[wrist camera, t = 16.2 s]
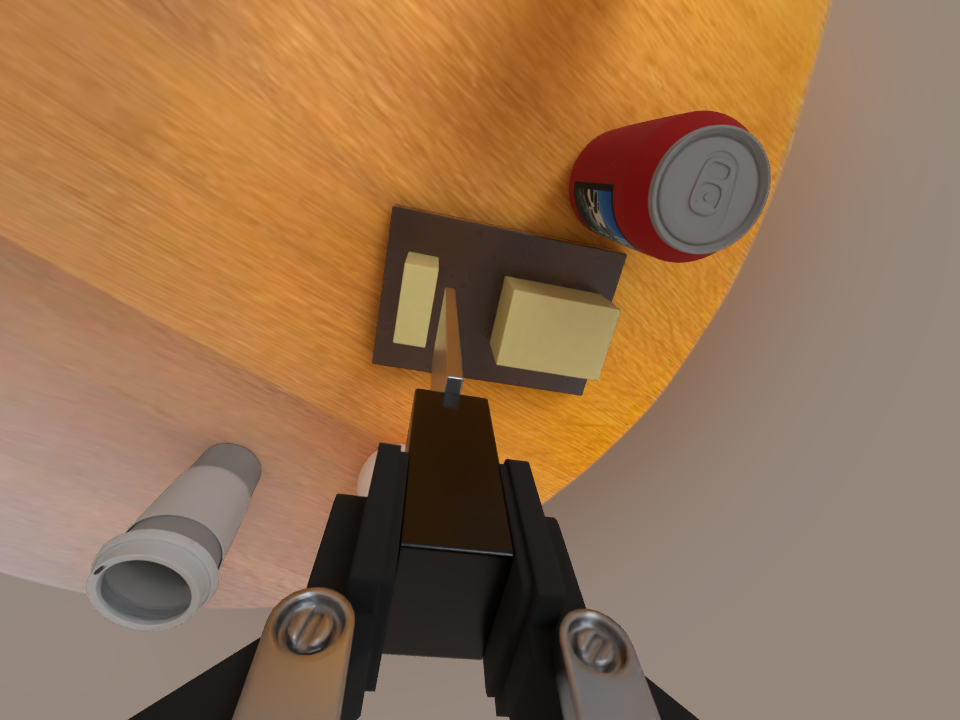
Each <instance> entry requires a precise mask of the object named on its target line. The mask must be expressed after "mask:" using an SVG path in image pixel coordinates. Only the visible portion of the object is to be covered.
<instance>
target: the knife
mask: <svg viewBox="0 0 960 720" xmlns="http://www.w3.org/2000/svg"><path fill="white" fill-rule="evenodd" d="M462 384H463V370H462V359H461V348H460V337H459V326H458V315H457V304H456V293H455V289H454V288H449V287H446V288H445V292H444V297H443V303H442V309H441V314H440V320H439V325H438V331H437V336H436V342H435V347H434V353H433V358H432V375H431V390H425V389H416V390H415V394H414V400H413V405H412V411H411V417H410V423H409V429H408V435H407V441H406V447H405V452H409V460H408V469H407V478H406V487H405V496H404V506H403V515H402V524H401V533H400V542H399V551H398V560H397V568H396V576H395V583H394V590H393V595H392V601H391V606H390V612H389V617H388V623H387V628H386V634H385V639H384V645H383V650H382V654H391V655H407V656H423V657H440V658H457V659H472V660H482V659H483V656H484V653H485V649H486V646H487V643H488V640H489V637H490V634H491V630H492V627H493V624H494V621H495V618H496V615H497V611H498V608H499V605H500V602H501V599H502V596H503V592H504V589H505V586H506V583H507V580H508V577H509V573H510V570H511V567H512V564H513V561H514V557H515V553H514V547H513V541H512V536H511V530H510V524H509V519H508V513H507V508H506V502H505V496H504V491H503V485H502V479H501V474H500V468H499V459H498V453H497V448H496V442H495V437H494V431H493V426H492V420H491V415H490V409H489V404H488V399H486V398H479V397H473V396H466V395H460V393H461V389H462Z"/></svg>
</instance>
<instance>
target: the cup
mask: <svg viewBox="0 0 960 720" xmlns="http://www.w3.org/2000/svg"><path fill="white" fill-rule="evenodd" d="M260 475H261V466H260V463H259V461H258V459H257V458H256V456H255V455H254V454H253V453H252V452H251V451H249V450H248V449H246V448H244V447H242V446H239V445H236V444H228V443H225V444H218V445H215V446H212V447H210V448H209V449H208V450H206V451H205V452H204V453H203V454H202V456H201V457H200V458H199V459H198V460H197V461H196V462H195V463H194V464H193V465H192V466H191V467H190V468H189V469H188V470H187V471H185V472H184V473H182V474H181V475H180V476H179V477H178V478H177V479H176V480H175V481H174V482H173V483H172V484H171V485H170V486H169V487H168V488H167V489H166V490H165V491H164V492H163V493H162V494H161V495H160V496H159V497H158V498H157V499H156V500H155V501H154V502H153V504H152V505H151V506H150V507H149V508H148V509H147V510H146V511H145V512H144V513H143V514H142V515H141V516H140V517H139V518H138V519H137V520H136V521H135V522H134V523H133V524H132V525H131V526H130V527H129V528H128V530H127V531H126V532H125V533H123V534H121V535H119V536H117V537H115V538H113V539H111V540H110V541H108V542H107V543H106V544H105V545H104V546H103V547H102V548H101V549H100V550H99V552H98V553H97V555H96V557H95V560H94V562H93V564H92V568H91V574H90V576H89V578H88V581H87V587H86V590H87V596H88V598H89V600H90V603H91V605H92V606H93V607H94V608H95V610H96V611H97V612H98V613H99V614H101V615H102V616H103V617H104V618H106V619H107V620H109V621H111V622H112V623H115V624H117V625H119V626H122V627H125V628H129V629H133V630H139V631H160V630H166V629H170V628H173V627H176V626H178V625H180V624H182V623H183V622H185V621H187V620H188V619H189V618H190V617H191V616H192V615H193V614H194V613H195V612H196V611H197V610H199V609H200V608H202V607H203V606H204V605H205V604H206V603H207V602H208V601H209V600H210V598H211V597H212V596H213V594H214V593H215V591H216V589H217V586H218V582H219V572H218V570H219V568H220V567H221V565H222V563H223V560H224V558H225V556H226V554H227V552H228V550H229V547H230V545H231V543H232V541H233V539H234V537H235V534H236V532H237V530H238V528H239V526H240V524H241V521H242V519H243V517H244V515H245V513H246V511H247V508H248V505H249V502H250V497H251V495H252V493H253V491H254V489H255V487H256V485H257V483H258V480H259V478H260Z"/></svg>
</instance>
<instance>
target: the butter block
mask: <svg viewBox="0 0 960 720" xmlns="http://www.w3.org/2000/svg"><path fill="white" fill-rule="evenodd" d="M620 312H621V310H620V309H619V308H618V307H616V306H615V305H614V304H613V303H611V302H610V301H609V300H607V299H606V298H605V297H603V296H602V295H601V294H598V293H592V292H587V291H582V290H577V289H571V288H566V287H561V286H556V285H550V284H545V283H540V282H535V281H529V280H524V279H519V278H514V277H508V276H505V278H504V282H503V287H502V291H501V295H500V300H499V304H498V309H497V313H496V317H495V322H494V326H493V331H492V335H491V339H490V346H491V349H492V352H493V355H494V359H495V362H496V364H497V365H501V366H508V367H514V368H520V369H526V370H533V371H539V372H545V373H552V374H558V375H564V376H570V377H577V378H583V379H589V380H596V381H598V379H599V376H600V373H601V370H602V367H603V364H604V360H605V357H606V354H607V351H608V348H609V345H610V342H611V339H612V336H613V333H614V330H615V327H616V324H617V321H618V318H619V315H620Z"/></svg>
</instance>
